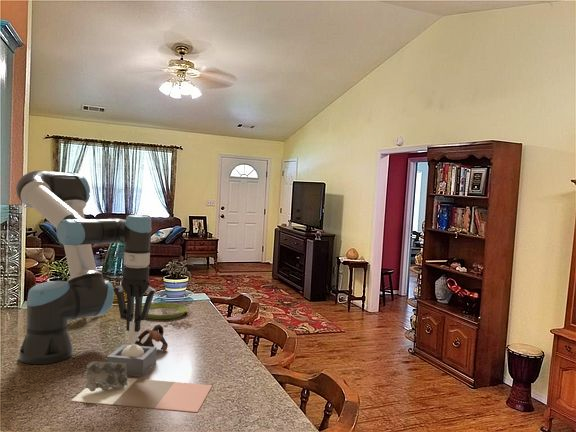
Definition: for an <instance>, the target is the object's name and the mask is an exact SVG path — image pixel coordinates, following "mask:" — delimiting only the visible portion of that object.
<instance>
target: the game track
mask: <svg viewBox="0 0 576 432" xmlns="http://www.w3.org/2000/svg"><path fill="white" fill-rule="evenodd" d="M212 388H213V385H212V384H203V383H190V382H178V381H177V382H176V381H165V380H154V379H143V378H134V377H133V378H132V377H127V385H125V386H124V387H121V388H120V389H118V390H116V389H114V388H109V389H108V390H107V391H103V390H102V389H101V388H96V390H95V391H93V392H92V391H90V390H89V389H88V388H85V387H84V389H83V390H82V391H80V393H78V394H77V395H76V396H75V397H73V398H72V399H71V400H70V401H71V402H74V403H75V402H77V403H85V404H87V403H89V404H95V405H96V404H98V405H109V406H117V407H118V406H120V407H130V408H131V407H132V408H142V409H143V408H144V409H154V410H163V411H174V412H176V411H177V412H184V413H185V412H188V413H196V414H197V413H199V411H200V409H201V407H202V405H203V403H204V402H205V400H206V398H207V396H208V395H209V392H210V391H211V389H212Z"/></svg>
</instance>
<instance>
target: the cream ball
mask: <svg viewBox="0 0 576 432" xmlns="http://www.w3.org/2000/svg"><path fill="white" fill-rule="evenodd" d="M128 345H129V346H127V347H125V348H124V349H123V351H122V353H121V356H129V357H141V356H143V355H144V350H143V349H142V348H141V347H140V346H139V345H135V343H131V344H128Z"/></svg>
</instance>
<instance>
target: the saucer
mask: <svg viewBox="0 0 576 432" xmlns="http://www.w3.org/2000/svg"><path fill="white" fill-rule="evenodd" d="M143 308H144V305H142V311H143ZM155 309H172V310H173V309H174V310H178V311H181V312H177V313H171V314H156V313H155V314H154V313H148V316H147V318H146V319H151V320H152V319H153V320H172V319H176V318H179V317H182V316H184V314H185V313H186V312H187V310H188V308H187V306H184V305H181V304H178V303H171V302H170V303H169V302H168V303H165V302H164V303H163V302H161V303H160V302H159V303H151V306H150V309H149V311H150V310H155Z"/></svg>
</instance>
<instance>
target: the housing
mask: <svg viewBox="0 0 576 432" xmlns="http://www.w3.org/2000/svg"><path fill="white" fill-rule="evenodd" d="M129 345H130V344H122V345H121V346H119V347H118V348H117V349H115V350H113V352H111V353H110V354H109V355H108V356H107V357H106V358H107V359H106V362H112V363H126V370H127V376H134V377H144V375H146V373H148V371H150V369H152V367H153V366H154V365H155V364H156V363H157V352H158V351H157V347H156V346H154V347H148V346H140V347H141V348H142V349H143V350H144V355H143V356H141V357H129V356H121V353H122V351H123V349H124V348H125V347H127V346H129Z"/></svg>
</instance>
